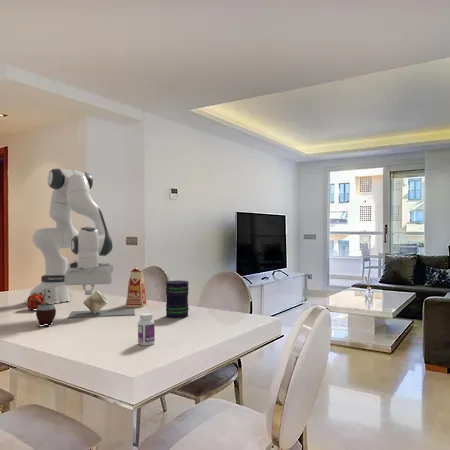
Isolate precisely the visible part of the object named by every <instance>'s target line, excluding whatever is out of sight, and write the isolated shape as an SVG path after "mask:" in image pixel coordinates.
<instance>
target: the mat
mask: <svg viewBox="0 0 450 450" xmlns="http://www.w3.org/2000/svg"><path fill="white" fill-rule="evenodd" d="M135 310H136V309H135V308H125V309H124V308H123V309H121V308H120V309H100V310H99V311H98V312H96V313H95V314H93V313H92V312H91V311H90V310H72V311H71V312H70V313H69V314H68V316H69V317H82V318H99V317H98V316H106V317H124V316H125V317H127V316H135V315H136V314H135V313H136V312H135ZM96 316H97V317H96Z"/></svg>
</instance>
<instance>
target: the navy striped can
mask: <svg viewBox="0 0 450 450" xmlns="http://www.w3.org/2000/svg"><path fill="white" fill-rule="evenodd" d="M165 282H166V283H165V284H166V286H165V294H166V303H165V313H166V315H165V317H166V318H168V319H185V318H188V317H189V310H190V309H189V293H190V292H189V290H190V288H189V281H188V280H168V281H165Z"/></svg>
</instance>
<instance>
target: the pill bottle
mask: <svg viewBox="0 0 450 450" xmlns="http://www.w3.org/2000/svg"><path fill="white" fill-rule="evenodd" d="M139 319H140V320H139V321H137V344H138V346H139V345H140V346H143V347H146V346H152V345H154V344H155V342H156V341H155V340H156V339H155V338H156V337H155V334H156V332H155V331H156V330H155V321H154V320H153V313H151V312H149V313H146V312H145V313H141V314H139Z"/></svg>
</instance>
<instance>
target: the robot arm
mask: <svg viewBox="0 0 450 450" xmlns="http://www.w3.org/2000/svg"><path fill="white" fill-rule="evenodd" d="M93 182H94V179H93V177H92V175H91V174H90V173H88V172H86V171H85V172H84V171H79V170H74V169H64V168H63V169H61V168H52V169H51V170H50V171H48V176H47V184H48V186H49V188H51V189H53V190H52V192H51V198H50V204H49V210H48V211H49V212H48V215H49V218H50V219H52V220H53V221H54V222H55V224H56V227H42V228H38V229H36V230H35V231H33V234H32V238H31V239H32V243H33V244H34V246H35V247H36V248H37V249H38V250H39V251H40V252H41V253H42V256H43V258H44V266H45V274H43V275H41V277H40V280H41V282H40V283H39V284H37V285H36V286H35V287H33V288H32V289H31V290H30V293H29V296H31V295H32V294H33V293H36V294H37V293H39V294H41V295H44V289H46V302H47V303H50V304H53V305H55V304H54V303H57V304H60V302H62V303H67V302H66V301H68V302H71V301H72V299H71V295H70V290H69V286H80V285H81V286H82V289H83V291H84V295H85V296H88V295H89V296H91V295H92V294H93V290H94V289H95V285H110V284H112V282H113V276H112V273H113V271H114V267H113V264H110V263H107V262H106V263H101V262H100V256H102V257H106V256H107V255H109V254H110V253H111V252H112V250H113V241H112V238H111V236H110V234H109V230H108V228H107V224H106V221H105V218H104V215H103V212H102V210H101V207H100V205H98V204H97V203H96V202H95V200H93V198H92V194H91V190H92V188H93V185H94V183H93ZM73 212H74V213H76V214H78V215H82V216H85V217H87V218H89V219H91V220H92V221H93V223H94V225H95V227H90V226H85V227H81V228H80V229H79V231H78V230H77V229H76V228H75V226H74V223H73V219H72V218H73V217H72V216H73V215H72V214H73ZM69 248H70V249H71V252H72V253H73V254H75V255H76V256H78V257H77V260H73V261H71V262H68V258H67V257H66V256H64V255H63V254H62V253H61V252H60V249H69ZM88 285H90V287H91V289H90V290H88V289H87V288H86V287H87V286H88ZM29 296H28V297H29ZM70 300H71V301H70ZM27 301H28V299H27V298H26V300H24V302H23V304H24V303H27Z"/></svg>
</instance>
